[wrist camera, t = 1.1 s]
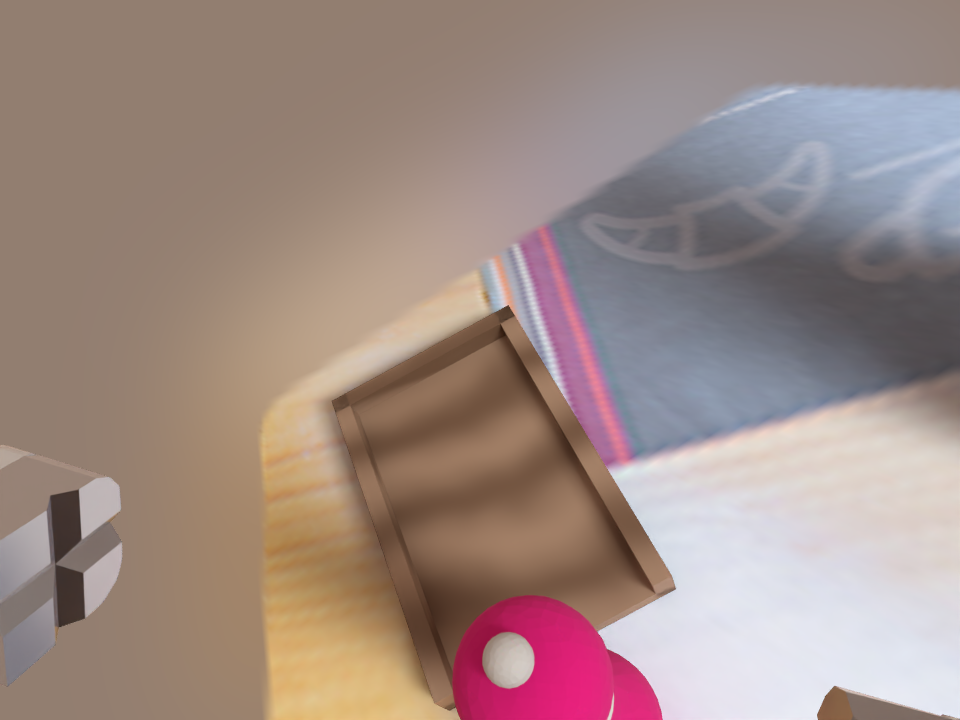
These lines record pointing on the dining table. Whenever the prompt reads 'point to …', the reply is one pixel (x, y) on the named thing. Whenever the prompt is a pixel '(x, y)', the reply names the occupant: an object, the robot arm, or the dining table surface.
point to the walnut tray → (490, 493)
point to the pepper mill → (544, 668)
